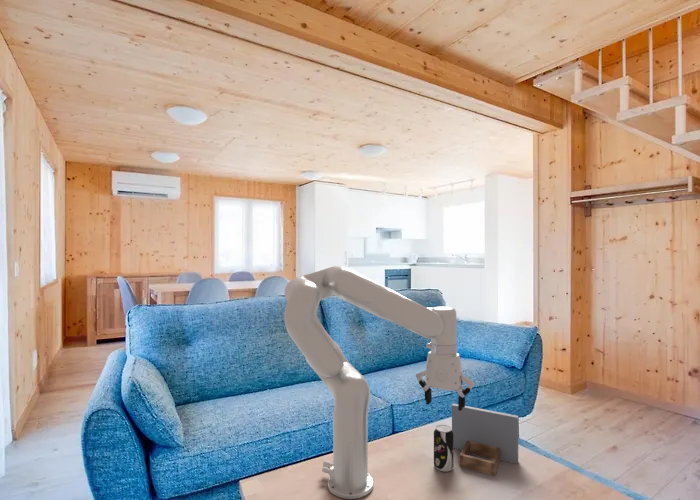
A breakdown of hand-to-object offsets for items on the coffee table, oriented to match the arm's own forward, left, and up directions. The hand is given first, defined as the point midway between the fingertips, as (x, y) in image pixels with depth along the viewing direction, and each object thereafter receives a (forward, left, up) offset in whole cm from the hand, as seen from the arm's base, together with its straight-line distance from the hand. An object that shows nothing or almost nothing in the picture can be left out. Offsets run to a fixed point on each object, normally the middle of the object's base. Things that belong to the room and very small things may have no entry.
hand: (444, 406), depth 118 cm
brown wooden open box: (+9, +8, -18) cm, 22 cm away
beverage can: (0, 0, -19) cm, 19 cm away
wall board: (+9, +13, -18) cm, 24 cm away
